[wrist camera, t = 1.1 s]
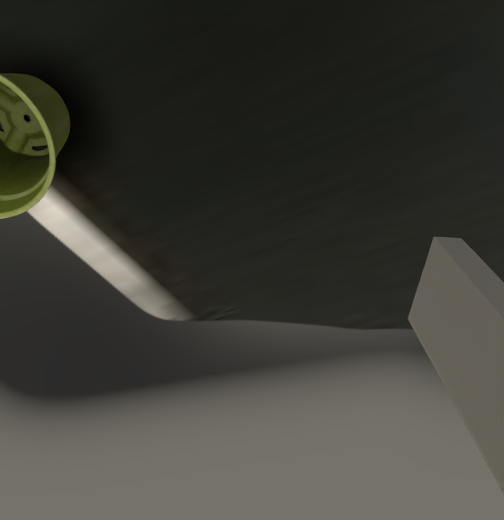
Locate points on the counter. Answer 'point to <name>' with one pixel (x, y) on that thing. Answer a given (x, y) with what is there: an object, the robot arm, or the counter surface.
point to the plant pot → (28, 140)
